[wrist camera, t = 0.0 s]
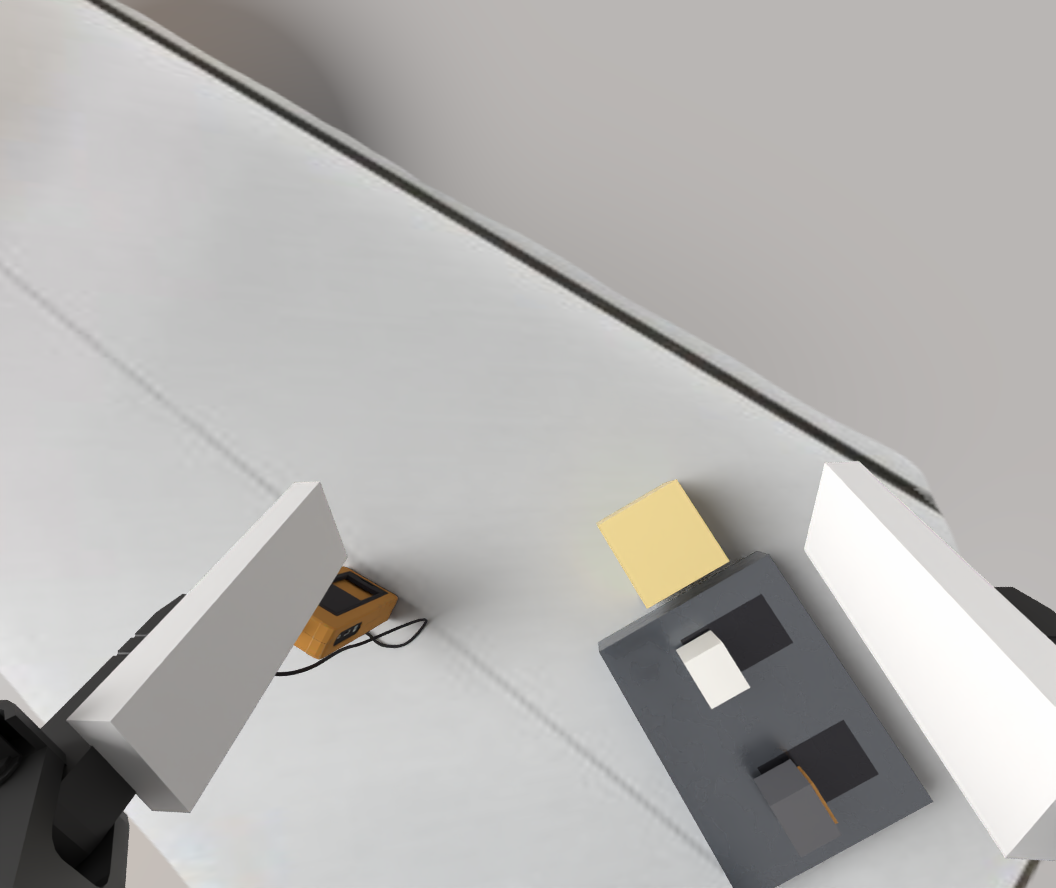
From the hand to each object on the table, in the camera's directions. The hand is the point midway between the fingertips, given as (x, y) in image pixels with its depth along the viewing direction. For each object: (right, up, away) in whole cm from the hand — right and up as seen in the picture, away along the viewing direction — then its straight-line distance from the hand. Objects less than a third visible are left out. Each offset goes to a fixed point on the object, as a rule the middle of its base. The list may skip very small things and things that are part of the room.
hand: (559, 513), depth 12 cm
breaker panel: (+20, -23, +31) cm, 43 cm away
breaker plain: (+15, -18, +29) cm, 37 cm away
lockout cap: (+12, -8, +34) cm, 37 cm away
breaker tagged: (+21, -28, +27) cm, 44 cm away
